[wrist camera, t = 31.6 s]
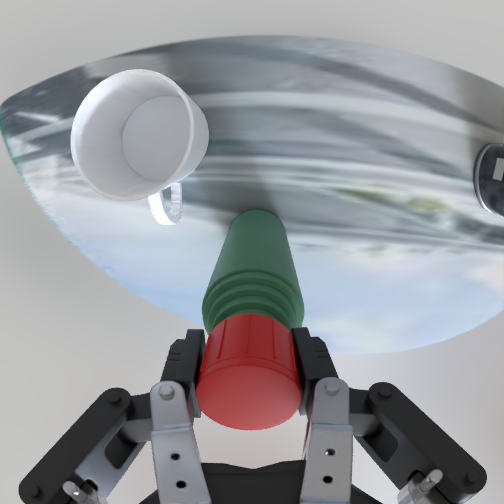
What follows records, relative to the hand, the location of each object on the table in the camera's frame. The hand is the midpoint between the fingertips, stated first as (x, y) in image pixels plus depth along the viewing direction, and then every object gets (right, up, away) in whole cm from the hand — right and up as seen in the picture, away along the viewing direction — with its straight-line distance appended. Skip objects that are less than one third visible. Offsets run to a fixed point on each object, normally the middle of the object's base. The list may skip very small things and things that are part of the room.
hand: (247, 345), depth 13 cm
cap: (0, 0, 0) cm, 0 cm away
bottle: (+1, +6, +15) cm, 17 cm away
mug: (-8, +14, +13) cm, 20 cm away
